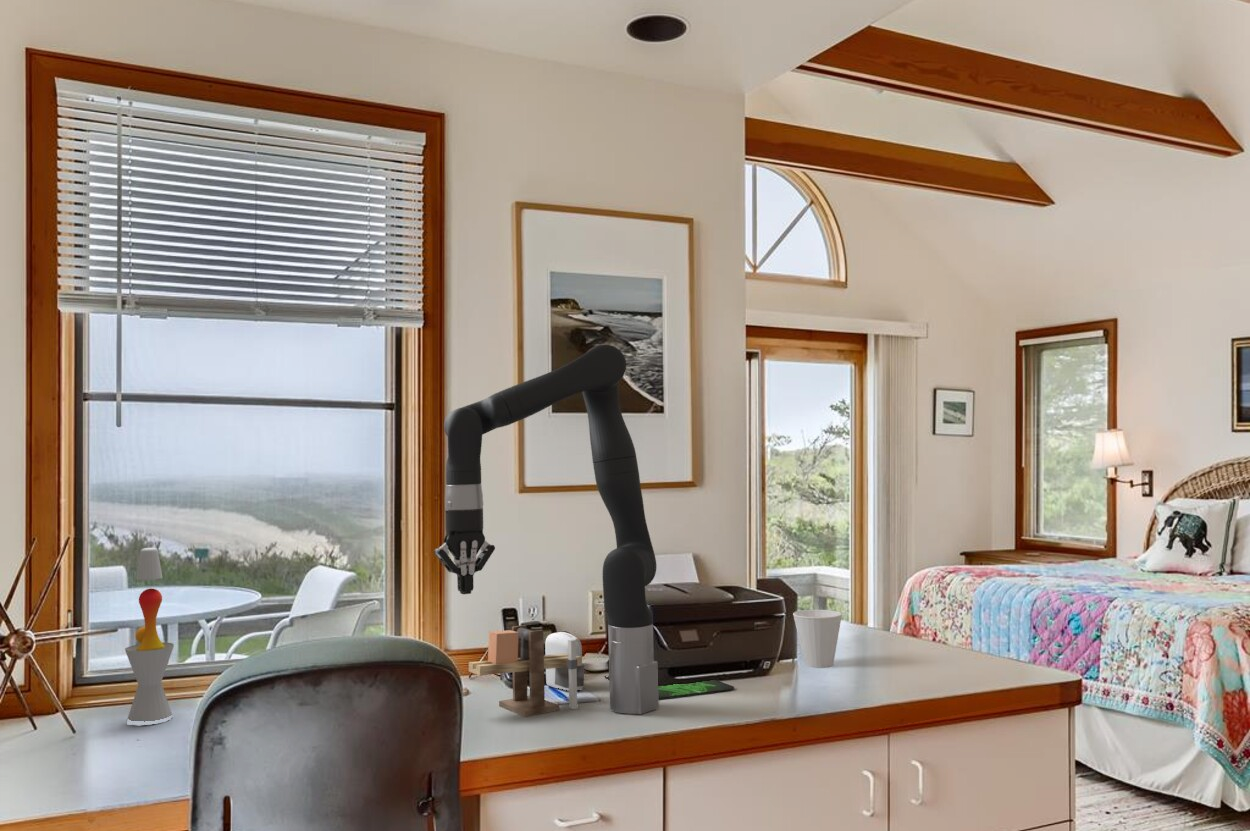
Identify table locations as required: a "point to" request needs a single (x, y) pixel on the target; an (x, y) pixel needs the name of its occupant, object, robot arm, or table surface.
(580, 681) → the beam
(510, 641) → the rider
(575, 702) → the post
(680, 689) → the mouse mat
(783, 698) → the table surface
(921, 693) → the table surface
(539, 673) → the pivot post
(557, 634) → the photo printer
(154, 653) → the lava lamp
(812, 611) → the cup
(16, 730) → the table surface
